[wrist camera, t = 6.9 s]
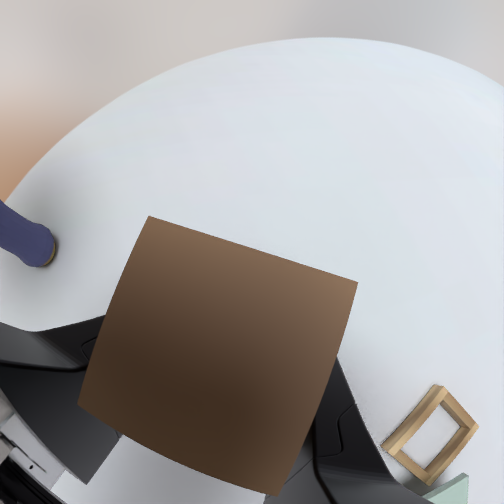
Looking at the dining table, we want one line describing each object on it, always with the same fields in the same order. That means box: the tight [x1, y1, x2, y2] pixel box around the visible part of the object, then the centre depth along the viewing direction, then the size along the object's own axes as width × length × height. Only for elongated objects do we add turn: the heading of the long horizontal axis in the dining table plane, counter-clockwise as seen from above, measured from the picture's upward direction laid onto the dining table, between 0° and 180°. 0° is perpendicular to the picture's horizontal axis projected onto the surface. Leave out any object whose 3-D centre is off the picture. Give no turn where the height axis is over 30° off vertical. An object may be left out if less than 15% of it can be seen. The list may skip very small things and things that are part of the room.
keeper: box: [381, 385, 479, 486], centre depth 15 cm, size 6×6×2 cm
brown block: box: [77, 216, 358, 497], centre depth 10 cm, size 4×4×13 cm
